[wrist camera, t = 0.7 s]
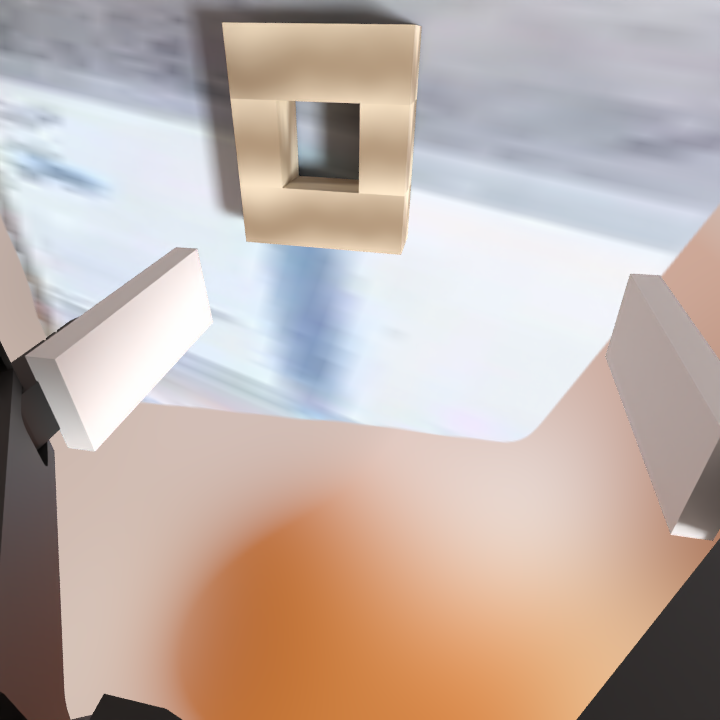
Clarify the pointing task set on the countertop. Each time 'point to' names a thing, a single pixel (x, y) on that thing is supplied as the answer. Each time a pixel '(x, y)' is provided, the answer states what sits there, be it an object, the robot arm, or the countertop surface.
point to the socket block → (279, 131)
